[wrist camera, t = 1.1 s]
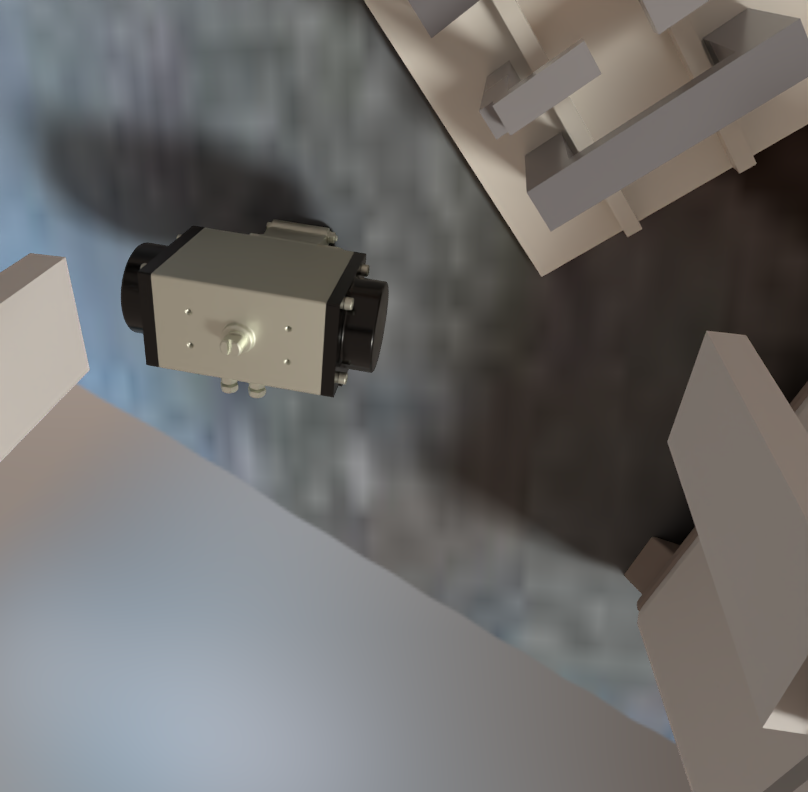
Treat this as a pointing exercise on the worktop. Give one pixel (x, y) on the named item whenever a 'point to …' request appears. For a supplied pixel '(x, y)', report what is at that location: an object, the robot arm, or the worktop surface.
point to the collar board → (602, 101)
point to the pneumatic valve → (257, 307)
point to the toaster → (709, 673)
